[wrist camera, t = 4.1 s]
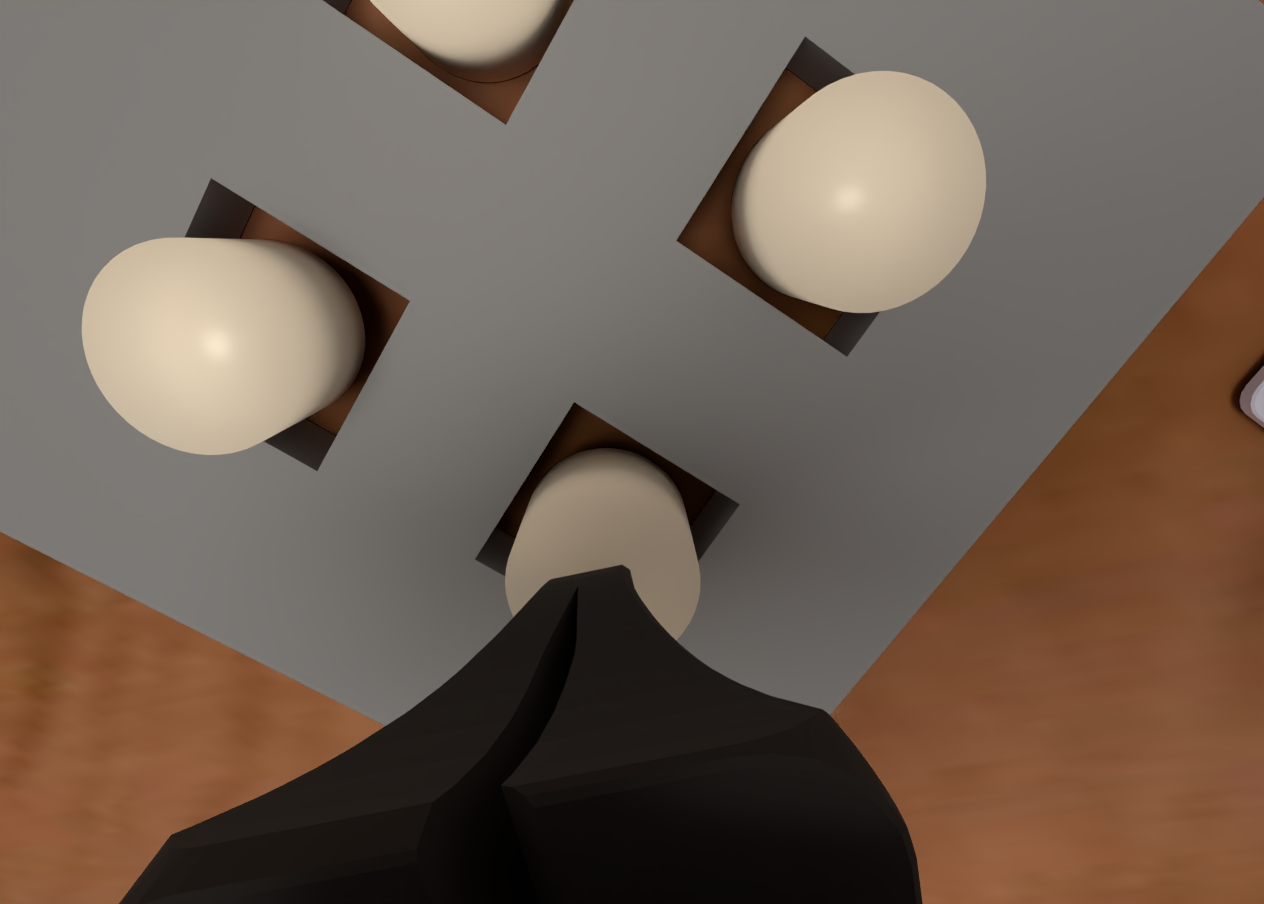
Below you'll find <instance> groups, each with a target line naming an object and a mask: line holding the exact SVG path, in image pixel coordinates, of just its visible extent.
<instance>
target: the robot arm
mask: <svg viewBox="0 0 1264 904" xmlns="http://www.w3.org/2000/svg"><path fill="white" fill-rule="evenodd" d="M1240 406H1241V409H1242V410H1243V412H1244V413H1245V414H1246V415H1247V416H1249V417H1250V418H1251V419H1253V420H1254V421H1255V422H1257V423H1258V424H1259V425H1261V426H1262V427H1263V428H1264V366H1263V367H1262V368H1261V369H1260V370H1259V372H1258V373H1257V374H1256V375H1255V376H1254V377H1253V378H1252V379H1251V380H1250V382H1249V383H1248V384H1247V385H1246V386H1245V388H1244V390H1243V391H1242V393H1241V397H1240ZM119 904H922V896H921V888H920V881H919V873H918V865H917V858H916V854H915V851H914V847H913V844H912V841H911V837H910V834H909V831H908V828H907V826H906V824H905V822H904V820H903V818H902V816H901V814H900V812H899V810H898V808H897V806H896V804H895V803H894V801H893V800H892V798H891V796H890V795H889V793H888V792H887V790H886V788H885V787H884V785H883V784H882V782H881V781H880V779H879V778H878V776H877V775H876V774H875V772H874V771H873V769H872V768H871V766H870V765H869V764H868V762H867V761H866V760H865V758H864V757H863V756H862V754H861V753H860V751H859V750H858V749H857V747H856V746H855V745H854V744H853V742H852V741H851V740H850V739H849V737H848V736H847V735H846V734H845V733H844V731H843V730H842V729H841V728H840V727H839V725H838V724H837V723H836V722H835V721H834V719H833V718H832V717H831V716H830V715H829V714H828V713H827V712H826V711H824V710H823V709H820V708H816V707H812V706H808V705H804V704H800V703H797V702H793V701H789V700H785V699H781V698H777V697H773V696H770V695H767V694H765V693H762V692H760V691H757V690H755V689H752V688H750V687H747V686H744V685H742V684H740V683H738V682H736V681H734V680H731V679H730V678H728V677H726V676H724V675H723V674H721V673H719V672H717V671H715V670H714V669H712V668H710V667H709V666H707V665H706V664H705V663H703V662H702V661H700V660H699V659H698V658H696V657H695V656H694V655H693V654H691V653H690V652H689V651H688V650H686V649H685V648H684V647H683V646H682V645H681V644H679V643H678V642H677V641H676V640H675V639H674V638H673V637H672V636H671V635H670V634H669V633H668V632H667V631H666V630H665V629H664V628H663V626H662V625H661V624H660V623H659V622H658V621H657V620H656V618H655V617H654V616H653V615H652V613H651V612H650V611H649V609H648V608H647V607H646V605H645V604H644V603H643V601H642V600H641V598H640V597H639V595H638V593H637V592H636V590H635V588H634V584H633V579H632V575H631V571H630V569H628V568H627V567H625V566H624V565H617V566H613V567H608V568H603V569H598V570H593V571H588V572H583V573H578V574H574V575H569V576H564V577H559V578H554V579H550V580H549V581H548V582H546V583H545V584H544V585H543V586H542V587H541V588H540V589H539V590H538V591H537V592H536V593H535V594H534V596H533V597H532V598H531V599H530V600H529V601H528V602H527V603H526V604H525V605H524V606H523V607H522V609H521V610H520V611H519V612H518V613H517V614H516V615H515V616H514V617H513V618H512V619H511V620H510V621H509V622H508V623H507V625H506V626H505V627H504V628H503V629H502V630H501V631H500V632H499V633H498V634H497V635H496V636H495V637H494V638H493V639H492V640H491V641H490V642H489V643H488V644H487V645H486V646H485V647H484V648H483V649H481V650H480V651H479V652H478V653H477V654H476V655H475V656H474V657H473V658H472V659H471V660H470V661H469V662H468V663H467V664H466V665H465V666H464V667H463V668H462V669H460V670H459V671H458V672H457V673H456V674H455V675H454V676H452V677H451V678H450V679H449V680H448V681H446V682H445V683H444V684H443V685H442V686H440V687H439V688H438V689H437V690H435V691H434V692H433V693H431V694H430V695H429V696H427V697H426V698H425V699H424V700H422V701H421V702H420V703H418V704H417V705H416V706H414V707H413V708H412V709H410V710H409V711H407V712H406V713H405V714H403V715H402V716H400V717H399V718H397V719H396V720H394V721H392V722H391V723H389V724H388V725H386V726H385V727H383V728H382V729H380V730H379V731H377V732H376V733H374V734H372V735H371V736H369V737H368V738H366V739H365V740H363V741H362V742H360V743H359V744H357V745H356V746H354V747H352V748H351V749H349V750H347V751H346V752H344V753H342V754H340V755H338V756H337V757H335V758H333V759H331V760H330V761H328V762H326V763H324V764H323V765H321V766H319V767H317V768H315V769H313V770H311V771H310V772H308V773H306V774H304V775H302V776H300V777H298V778H296V779H294V780H292V781H290V782H288V783H286V784H285V785H283V786H281V787H278V788H276V789H274V790H272V791H270V792H268V793H266V794H264V795H262V796H260V797H258V798H255V799H253V800H251V801H249V802H246V803H244V804H242V805H240V806H237V807H235V808H233V809H230V810H228V811H226V812H224V813H221V814H219V815H217V816H215V817H212V818H210V819H208V820H206V821H203V822H201V823H199V824H197V825H194V826H192V827H190V828H187V829H185V830H182V831H180V832H177V833H175V834H172V835H171V836H170V837H169V839H168V840H167V841H166V842H165V844H164V845H163V846H162V848H161V849H160V850H159V852H158V853H157V854H156V856H155V857H154V858H153V860H152V861H151V862H150V864H149V865H148V866H147V868H146V869H145V870H144V871H143V873H142V874H141V875H140V877H139V878H138V879H137V881H136V882H135V883H134V885H133V886H132V887H131V889H130V890H129V891H128V893H127V894H126V895H125V897H124V898H123V899H122V900H121V902H120V903H119Z"/></svg>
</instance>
